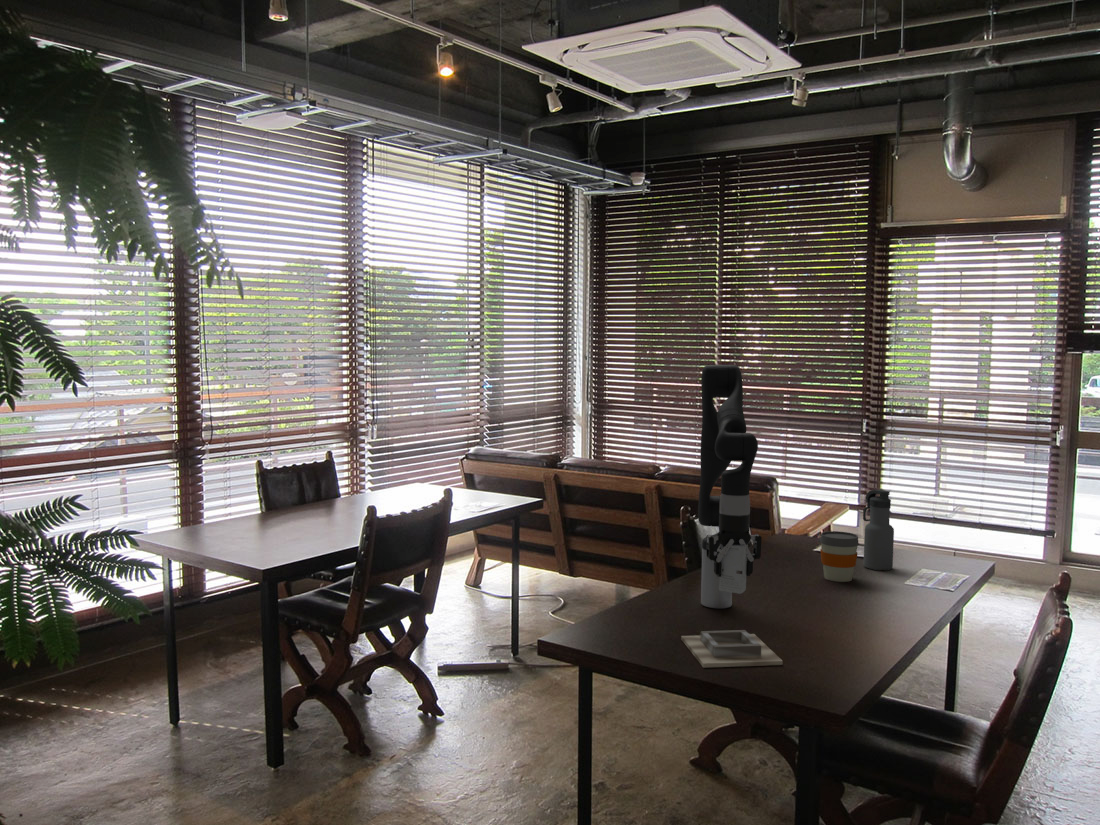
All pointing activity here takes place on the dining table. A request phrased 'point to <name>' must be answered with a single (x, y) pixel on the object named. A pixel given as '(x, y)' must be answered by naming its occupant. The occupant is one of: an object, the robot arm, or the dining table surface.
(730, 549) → the skincare box
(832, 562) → the reusable coffee cup
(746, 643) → the square frame tray
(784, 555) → the dining table surface
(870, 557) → the water bottle
